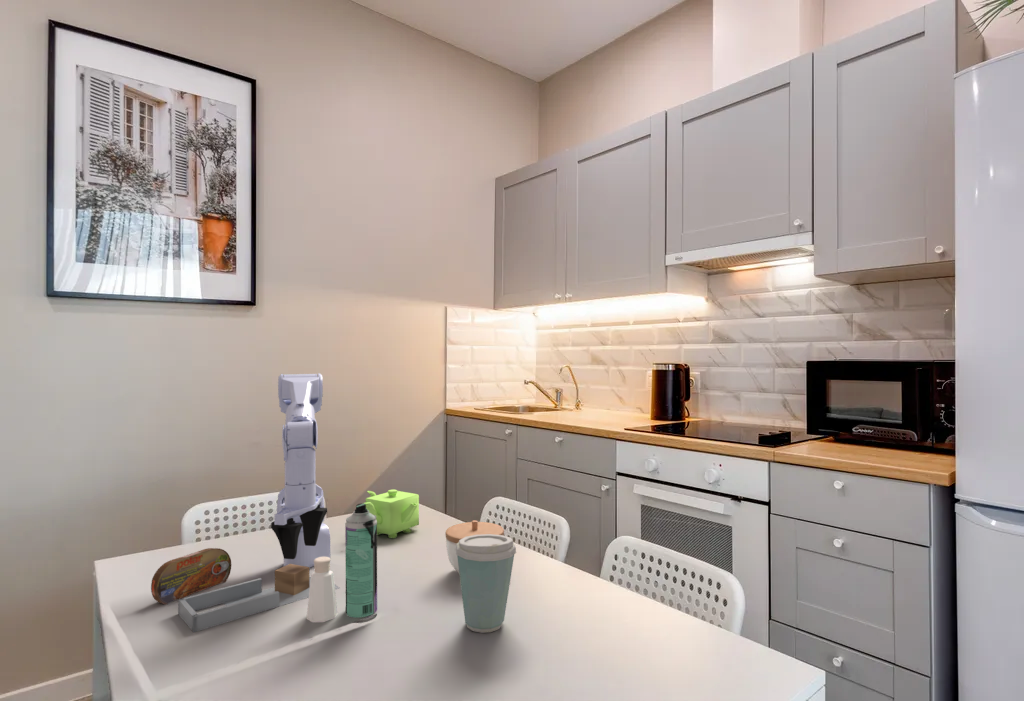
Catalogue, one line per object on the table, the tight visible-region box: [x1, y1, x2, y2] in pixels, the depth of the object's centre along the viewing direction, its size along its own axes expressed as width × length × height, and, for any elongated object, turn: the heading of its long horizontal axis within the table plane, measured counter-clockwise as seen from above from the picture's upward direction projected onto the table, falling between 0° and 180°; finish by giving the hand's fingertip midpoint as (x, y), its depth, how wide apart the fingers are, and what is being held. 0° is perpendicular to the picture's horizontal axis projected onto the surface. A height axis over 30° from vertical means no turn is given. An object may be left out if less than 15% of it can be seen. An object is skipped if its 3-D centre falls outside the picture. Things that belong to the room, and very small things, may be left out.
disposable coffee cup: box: [455, 534, 517, 633], centre depth 99 cm, size 11×11×15 cm
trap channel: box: [177, 576, 341, 633], centre depth 107 cm, size 26×10×4 cm, turn 133°
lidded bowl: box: [444, 519, 505, 576], centre depth 123 cm, size 13×13×11 cm
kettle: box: [364, 489, 420, 539], centre depth 152 cm, size 15×14×11 cm
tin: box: [150, 547, 232, 606], centre depth 112 cm, size 15×3×8 cm, turn 151°
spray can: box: [344, 502, 378, 624], centre depth 103 cm, size 6×6×20 cm
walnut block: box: [274, 564, 310, 595], centre depth 112 cm, size 4×5×4 cm
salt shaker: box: [306, 557, 339, 623], centre depth 101 cm, size 5×5×11 cm
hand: (300, 551), depth 112 cm, fingers open, 7 cm apart
